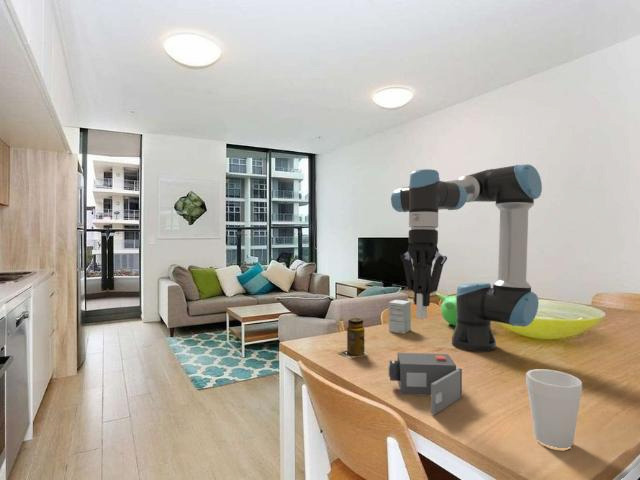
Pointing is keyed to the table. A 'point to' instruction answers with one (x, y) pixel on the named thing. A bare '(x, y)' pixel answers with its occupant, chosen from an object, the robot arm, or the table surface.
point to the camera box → (419, 371)
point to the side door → (446, 391)
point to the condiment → (355, 339)
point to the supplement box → (399, 316)
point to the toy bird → (449, 308)
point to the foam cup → (554, 405)
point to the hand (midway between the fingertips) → (421, 317)
